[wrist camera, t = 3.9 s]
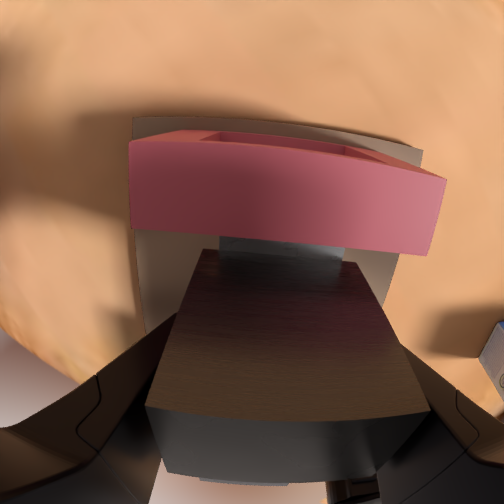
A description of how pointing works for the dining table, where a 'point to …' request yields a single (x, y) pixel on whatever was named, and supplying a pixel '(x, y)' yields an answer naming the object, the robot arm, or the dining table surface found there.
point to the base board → (191, 245)
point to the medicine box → (495, 357)
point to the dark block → (281, 370)
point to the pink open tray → (281, 191)
